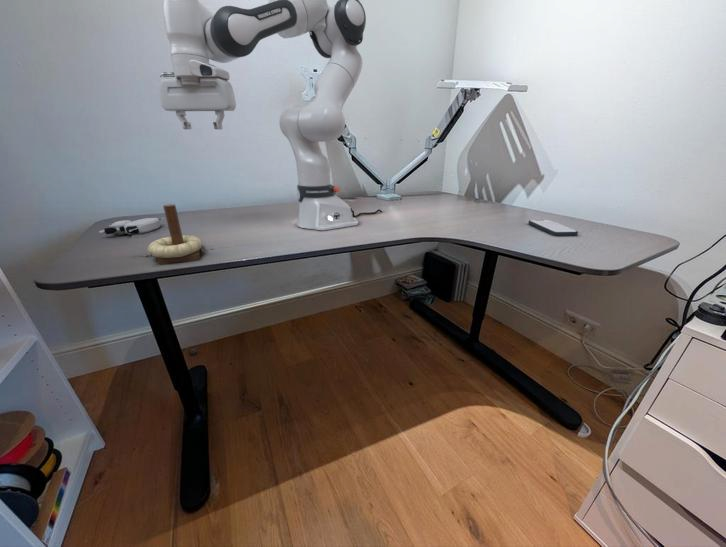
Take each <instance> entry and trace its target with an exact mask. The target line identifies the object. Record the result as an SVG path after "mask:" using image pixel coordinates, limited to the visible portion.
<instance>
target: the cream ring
mask: <svg viewBox="0 0 726 547" xmlns="http://www.w3.org/2000/svg"><path fill="white" fill-rule="evenodd" d="M182 236H183V241H184V243H183V244H179V245H173V244H172V240H171V236H166V237H162V238H158V239H156V240H153V241H152V242H151V243H150V244H149V246H148V247H147V251H148V253H149V254H150V255H151V256H154V257H156V258H158V257H159V258H174V257H182V256H185V255H189V254H193V253H194V252H196V251H198V250H200V249H201V250H202V246H203V242H202V239H201V238H199V237H197V236H195V235H188V234H187V235H185V234H182Z"/></svg>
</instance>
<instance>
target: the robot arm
mask: <svg viewBox="0 0 726 547" xmlns="http://www.w3.org/2000/svg"><path fill="white" fill-rule="evenodd" d="M364 8H365V7H364V6H363V4H362V3H361V1H360V0H337V1H336V3H335V4H334V5H333V6H332V7H331V6H330V5H329V4H328V1H327V0H268V2H267V3H266V4H262V5H259V6H256V7H253V8H242V7H238V6H235V5H234V6H233V5H224V6H222V7H220V8H218V10H216V12H215V13H214V12H212V11H210V9H209V8H207V7H205V5H203V4H202V3H201V2H200V1H199V0H162V16H163V22H164V29H165V35H166V37H167V39H168V41H169V45H170V59H171V63H172V64H171V65H172V68H173V69H172V70H173V71H169V72H168V71H164V72H162V73H161V74H160V75H159V76H158V78H157V79H158V85H159V87H158V88H159V98H160V104H161V107H162V108H163V109H164V110H165V111H168V112H175V115H176V117H177V118H178V120H179V121H180V122H181V124H182V129H183V130H192V129H193V128H192V122H189V121H188V120H187V118H186V117H185V116H187V114H186V112H214V115H215V116H216V119H215V121H213V122H212V123H213V129H214V130H223V122H224V119H225V112H234V111H235V110H236V107H237V103H236V102H237V101H236V96H235V92H234V88H233V86H232V84H231V83H230V81H229V80H230V73H229V72H228V71H227V70H225V69H223V68H220V67H217V66H215V65H213V64H211V63H210V60H211V61H213V62H217V63H221V64H228V63H230V62H233V61H235V60H237V59H240V58H244V57H246V56H249V55H250V54H252V53H253V51H254V50H255V49H256V46H257V45H258V44H259V43H260V41H261V40H264V39H266V38H269V37H271V36H274V35H276V34H277V35H278V36H279V37H281V38H282V39H292V38H293V39H294V38H296V37H300V36H302V35H305V34H307V33H309V38H310V39H311V41H312V44H313V46H314V48H315V50H316V51H317V53H318V54H319V55H320V56H321V57H322V58H324V59H329V60H328V61H327V63H326V65H325V66H324V68H323V69H322V71H321V72H320V74H319V75H318V77H317V79H316V80H315V82H314V85H313V92H314V94H315V97H314V98H313V100H312V101H311V102H309V103H306V104H298V105H296V104H295V105H292V106H289V107H288V108H286V109H285V110H283V111H282V112H281V113H280V116H279V129H280V131H281V133H282V134H283V136H284V137H286V139H287V140H288V142H289V145H290V147H291V149H292V152H293V155H294V159H295V163H296V172H297V183H298V184H297V186H296V188H297V189H296V194H297V201H298V214H297V215H298V216H297V221H296V226H297V227H299V228H301V229H307V230H317V231H329V230H334V229H341V228H342V229H343V228H347V227H353V226H358V225H359V219H357V218H358V217H359V216H361V215H375V214H377V213H379V212H380V213H383V211H382V209H379V208H378V209H377V210H375V211H372V212H370V211H369V212H359V213H357V214H356V215H355V211H354V210H353V209H352V207H351V206H350V205H349V204H348V203H347V202H345V201H344V200H343V199H342V198H340V197H339V196H337V195H336V193H337V194H338V193H339V192H340V191H341V188H340V186H338V185H333V184H331V168H330V166H331V165H330V161H329V158H328V157H327V156H325V155H324V153H323V151H322V149H321V146H320V143H324V142H325V143H327V142H331V141H334V140H336V139H339V138H340V137H342V135H343V133H344V131H345V128H346V118H345V115H344V112H343V107H344V105H345V103H346V101H347V100H348V98H349V96H350V94H351V92H352V91H353V89H354V88H355V86H356V84H357V81H358V79H359V77H360V75H361V73H362V69H363V58H362V55H361V53H360V52H359V51H358V46H359V45H361V44H362V43H363V40H364V31H365V28H366V25H367V24H366V23H367V15H366V12H365V9H364Z"/></svg>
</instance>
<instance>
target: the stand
mask: <svg viewBox="0 0 726 547" xmlns="http://www.w3.org/2000/svg"><path fill="white" fill-rule="evenodd" d="M162 208H163V211H164V216H165V219H166V223H167V227H168V231H169V235H170V236H171V240H172V244H173V245H179V244H183V243H184V241H183V236H182V235H183V232H182V228H181V223H180V219H179V215H178V210H177V207H176V204H174V203H169V204H164V205H163V207H162ZM170 236H169V237H170ZM201 252H202V248H201V249H200V250H198V251H196V252H194V253H193V254H189V255H185V256H182V257H174V258H159V257H157V262H158V265H167V264H175V263H183V262H192V261H199V260H200V257H201Z"/></svg>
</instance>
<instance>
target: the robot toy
mask: <svg viewBox="0 0 726 547" xmlns="http://www.w3.org/2000/svg"><path fill="white" fill-rule="evenodd" d="M164 219H165V217H161V218H157V217H148V218H147V217H146V218H141V219H136V220H133V221H132V220H127V219H126V220H119V221H115V222H113V223H112V224H109V225H108V227H105V228H104V229H102V230H99V231H98V233H99V234H100V235H101V234H105V235H112V234H115V235H118V236H123V235H131V236H132V235H142V234H147V233H150V232H153V231H155V230H157V229H159V228H160V227H161V226H162V225H161V220H164Z"/></svg>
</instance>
